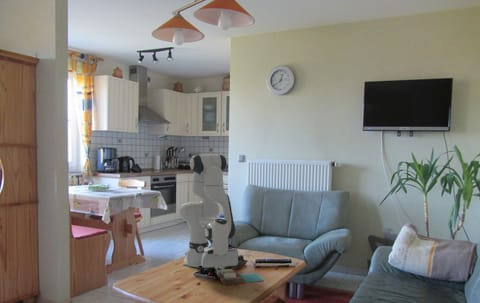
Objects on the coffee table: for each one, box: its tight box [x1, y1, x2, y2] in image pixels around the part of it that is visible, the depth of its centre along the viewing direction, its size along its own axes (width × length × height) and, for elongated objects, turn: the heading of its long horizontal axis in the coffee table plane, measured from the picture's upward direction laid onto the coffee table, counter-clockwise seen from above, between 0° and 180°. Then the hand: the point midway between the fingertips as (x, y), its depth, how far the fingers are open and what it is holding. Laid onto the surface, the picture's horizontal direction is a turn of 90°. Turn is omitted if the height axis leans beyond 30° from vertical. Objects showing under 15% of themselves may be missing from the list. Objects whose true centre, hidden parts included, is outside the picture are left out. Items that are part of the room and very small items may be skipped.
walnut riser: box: [219, 270, 244, 286], centre depth 209 cm, size 14×11×2 cm
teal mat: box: [239, 272, 264, 283], centre depth 213 cm, size 12×10×1 cm
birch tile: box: [222, 268, 236, 279], centre depth 208 cm, size 9×6×2 cm, turn 16°
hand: (219, 274), depth 207 cm, fingers closed
